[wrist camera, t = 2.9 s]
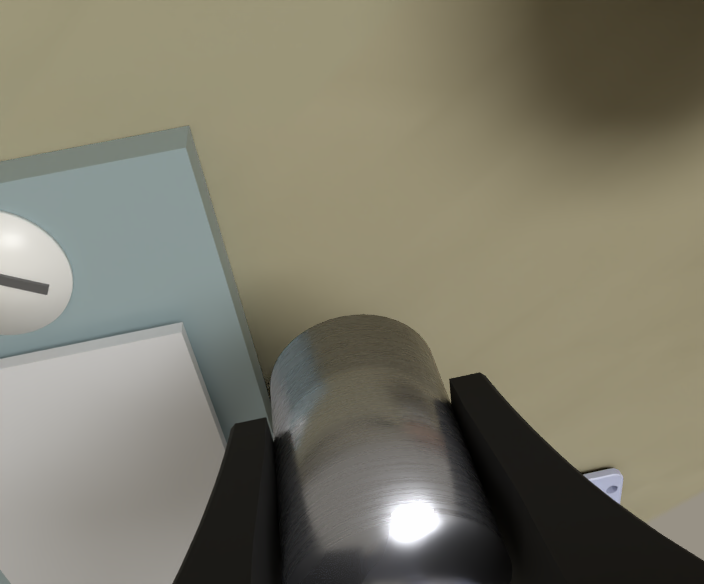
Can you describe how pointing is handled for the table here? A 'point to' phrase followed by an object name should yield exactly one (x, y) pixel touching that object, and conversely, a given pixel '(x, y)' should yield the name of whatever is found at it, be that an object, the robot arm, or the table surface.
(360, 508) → the cylinder
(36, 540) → the scale
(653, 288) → the table surface
